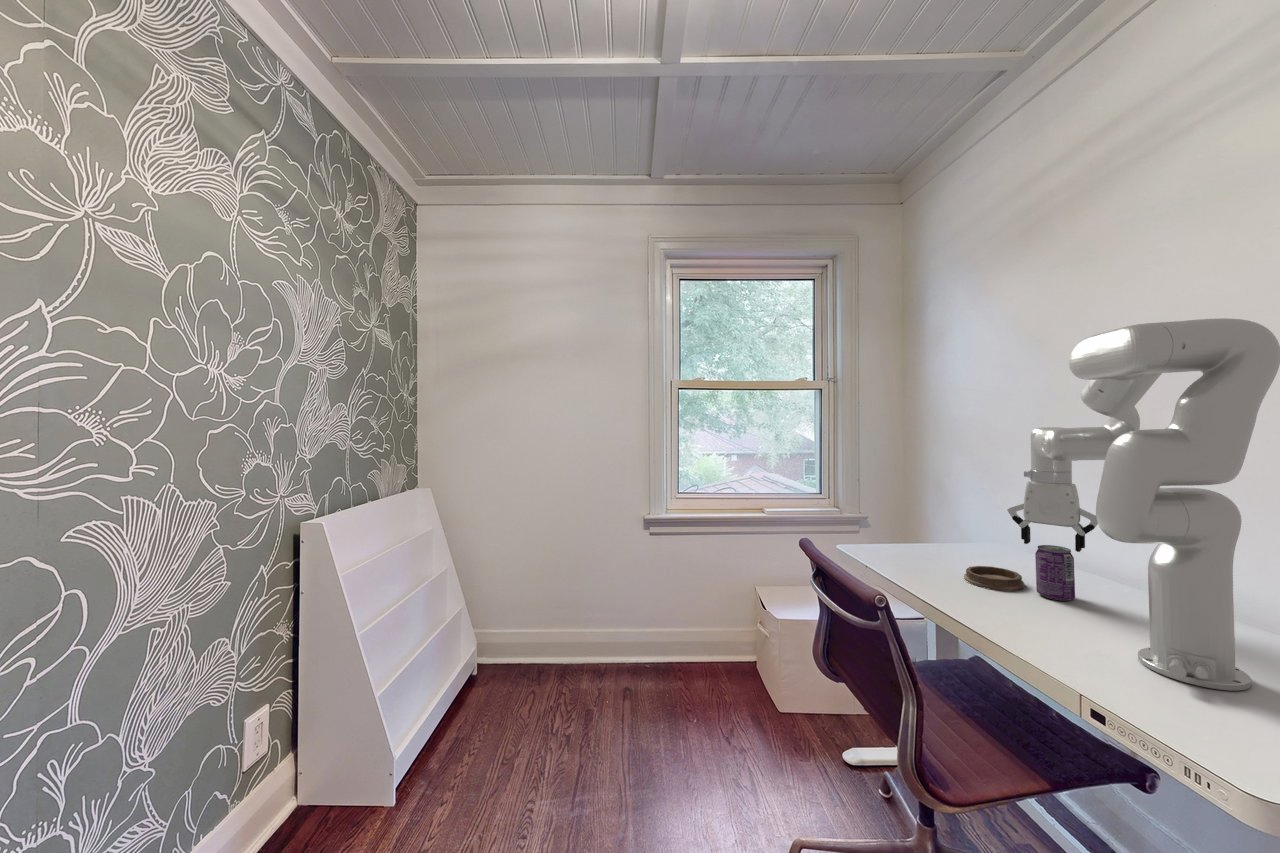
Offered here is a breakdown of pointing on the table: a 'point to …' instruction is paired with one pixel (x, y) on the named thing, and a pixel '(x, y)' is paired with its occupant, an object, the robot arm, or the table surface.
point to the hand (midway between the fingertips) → (1052, 546)
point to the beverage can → (1055, 572)
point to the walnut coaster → (994, 578)
